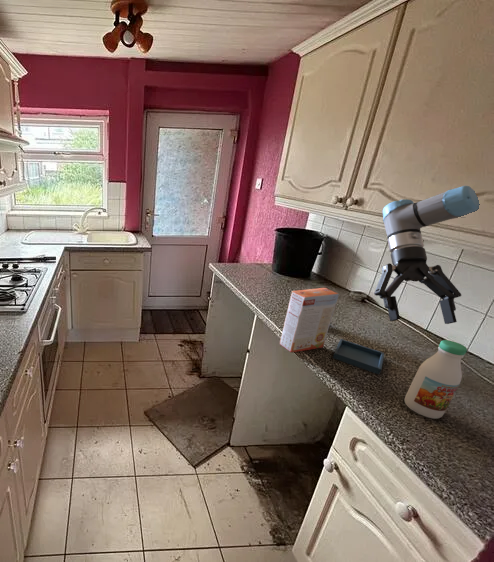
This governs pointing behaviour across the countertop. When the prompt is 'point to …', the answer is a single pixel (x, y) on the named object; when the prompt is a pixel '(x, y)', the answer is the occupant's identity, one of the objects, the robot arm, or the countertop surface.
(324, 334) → the cracker box
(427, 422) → the countertop surface
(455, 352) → the milk bottle
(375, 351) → the tray
